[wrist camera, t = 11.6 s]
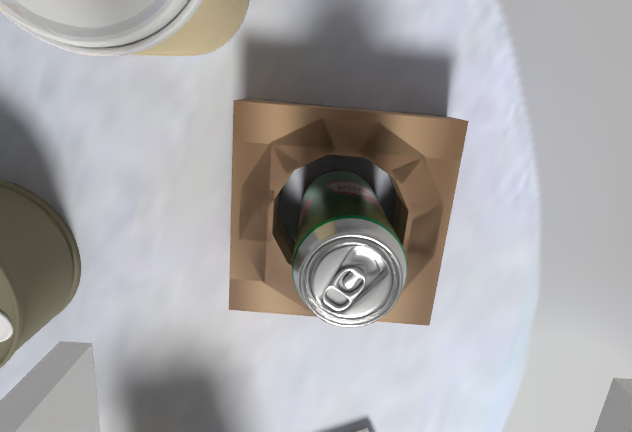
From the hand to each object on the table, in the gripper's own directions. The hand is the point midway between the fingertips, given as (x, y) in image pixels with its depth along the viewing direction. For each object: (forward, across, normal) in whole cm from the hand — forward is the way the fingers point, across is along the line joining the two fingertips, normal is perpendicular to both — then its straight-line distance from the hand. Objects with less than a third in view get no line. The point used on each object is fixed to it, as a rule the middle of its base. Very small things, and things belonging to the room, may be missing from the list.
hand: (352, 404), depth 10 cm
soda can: (+19, +1, 0) cm, 19 cm away
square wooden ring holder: (+19, +1, 0) cm, 19 cm away
